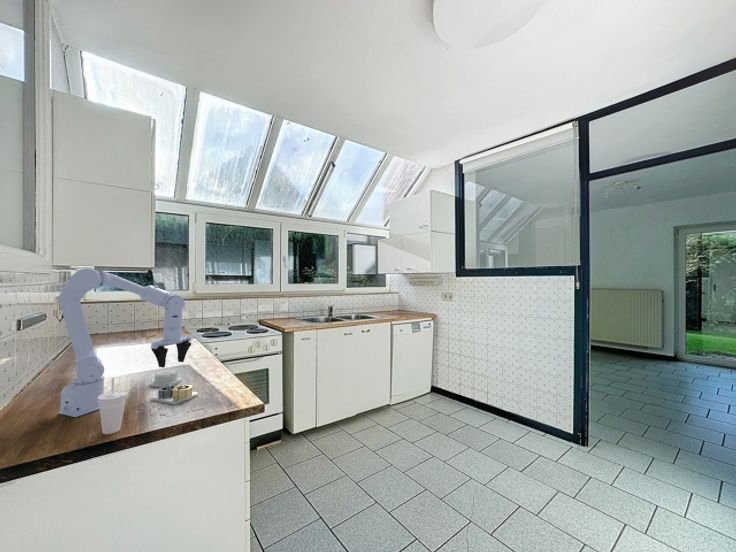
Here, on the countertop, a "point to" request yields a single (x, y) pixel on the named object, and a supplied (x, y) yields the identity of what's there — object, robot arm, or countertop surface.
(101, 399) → the smoothie
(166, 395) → the piston block
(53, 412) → the countertop surface
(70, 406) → the robot arm
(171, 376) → the mechanical component
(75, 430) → the countertop surface
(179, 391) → the brass ring
